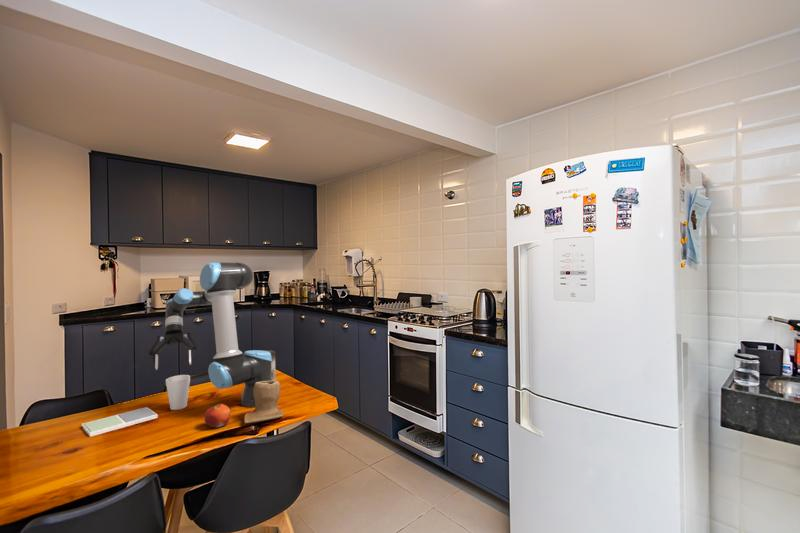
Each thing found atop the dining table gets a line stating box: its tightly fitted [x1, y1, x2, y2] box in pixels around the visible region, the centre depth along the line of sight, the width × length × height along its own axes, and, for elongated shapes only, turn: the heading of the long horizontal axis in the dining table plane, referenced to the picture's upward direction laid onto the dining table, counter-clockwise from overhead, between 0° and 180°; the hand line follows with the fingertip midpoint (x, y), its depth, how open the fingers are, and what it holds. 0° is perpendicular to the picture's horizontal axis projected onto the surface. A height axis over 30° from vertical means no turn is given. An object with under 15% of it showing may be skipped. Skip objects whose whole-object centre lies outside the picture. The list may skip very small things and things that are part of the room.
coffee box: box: [267, 349, 276, 381], centre depth 202 cm, size 9×6×16 cm
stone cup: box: [243, 380, 284, 424], centre depth 152 cm, size 15×12×15 cm
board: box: [81, 406, 159, 437], centre depth 151 cm, size 14×22×2 cm, turn 140°
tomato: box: [204, 403, 231, 428], centre depth 146 cm, size 9×9×8 cm
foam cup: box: [165, 374, 191, 411], centre depth 166 cm, size 10×9×13 cm
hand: (173, 366), depth 174 cm, fingers open, 13 cm apart
